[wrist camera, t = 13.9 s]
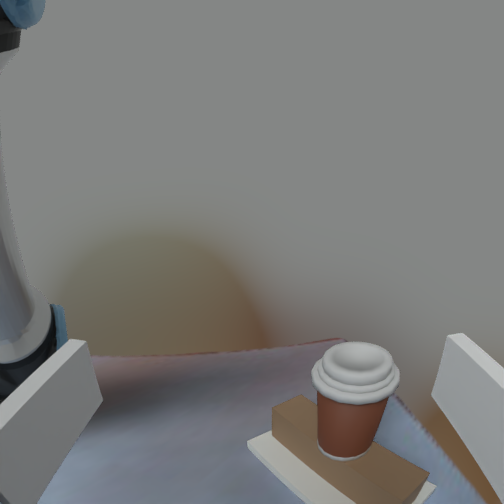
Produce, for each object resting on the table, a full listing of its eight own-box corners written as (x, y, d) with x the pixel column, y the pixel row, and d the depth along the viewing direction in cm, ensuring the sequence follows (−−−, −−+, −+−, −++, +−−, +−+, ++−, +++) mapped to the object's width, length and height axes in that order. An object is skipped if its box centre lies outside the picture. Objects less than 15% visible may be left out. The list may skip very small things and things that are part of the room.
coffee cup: (395, 455, 27) (421, 368, 24) (319, 478, 25) (332, 392, 23) (362, 411, 36) (375, 331, 33) (296, 426, 34) (300, 343, 32)
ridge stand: (247, 447, 39) (245, 412, 38) (311, 416, 45) (314, 382, 44) (369, 553, 19) (387, 527, 17) (432, 492, 25) (451, 458, 24)
